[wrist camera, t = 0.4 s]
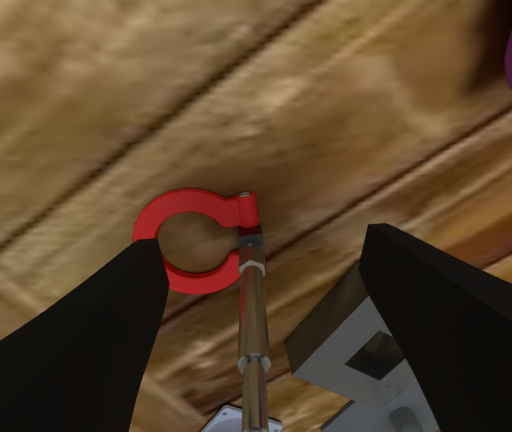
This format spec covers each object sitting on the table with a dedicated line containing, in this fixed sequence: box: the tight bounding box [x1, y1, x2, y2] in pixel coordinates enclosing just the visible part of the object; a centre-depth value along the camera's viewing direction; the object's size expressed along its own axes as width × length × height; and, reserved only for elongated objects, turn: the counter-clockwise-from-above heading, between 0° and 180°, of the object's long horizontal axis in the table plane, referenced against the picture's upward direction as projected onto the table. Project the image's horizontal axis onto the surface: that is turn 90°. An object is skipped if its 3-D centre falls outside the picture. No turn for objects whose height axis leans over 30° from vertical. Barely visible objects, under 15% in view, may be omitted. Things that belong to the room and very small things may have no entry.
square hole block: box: [285, 260, 417, 411], centre depth 23 cm, size 11×11×4 cm
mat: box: [321, 381, 439, 432], centre depth 30 cm, size 14×14×1 cm
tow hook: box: [133, 188, 271, 432], centre depth 14 cm, size 9×14×10 cm
